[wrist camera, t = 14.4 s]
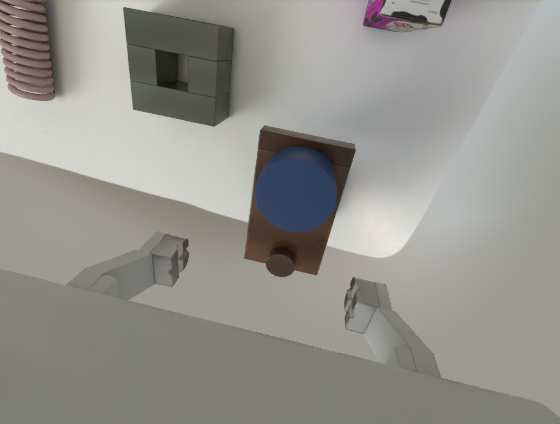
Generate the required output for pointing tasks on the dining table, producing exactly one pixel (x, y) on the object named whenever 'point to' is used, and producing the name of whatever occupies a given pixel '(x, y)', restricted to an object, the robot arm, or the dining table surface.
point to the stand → (284, 244)
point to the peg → (297, 189)
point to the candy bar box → (405, 14)
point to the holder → (163, 66)
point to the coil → (26, 49)
